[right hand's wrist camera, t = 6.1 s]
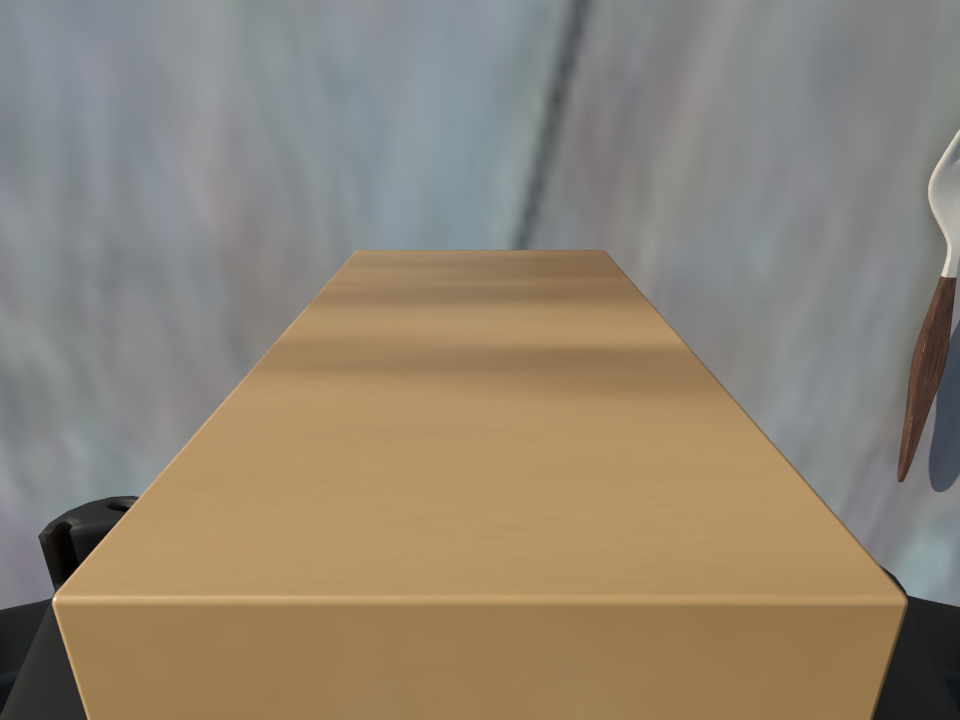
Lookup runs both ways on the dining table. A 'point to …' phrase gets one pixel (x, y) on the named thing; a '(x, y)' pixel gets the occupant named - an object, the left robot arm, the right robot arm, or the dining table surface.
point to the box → (480, 525)
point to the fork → (934, 307)
